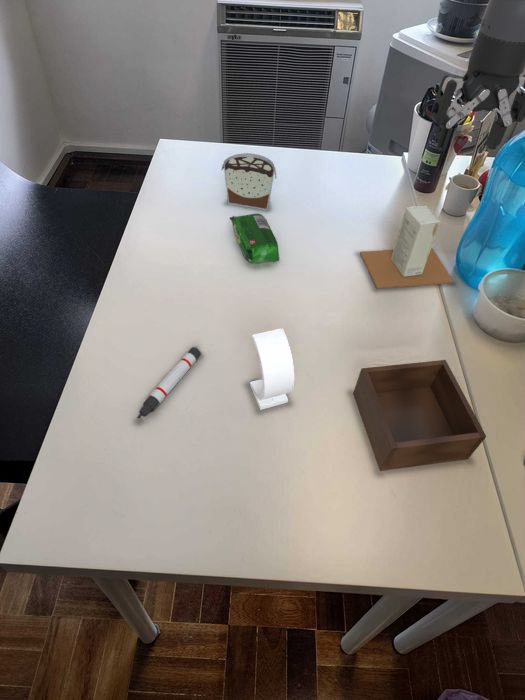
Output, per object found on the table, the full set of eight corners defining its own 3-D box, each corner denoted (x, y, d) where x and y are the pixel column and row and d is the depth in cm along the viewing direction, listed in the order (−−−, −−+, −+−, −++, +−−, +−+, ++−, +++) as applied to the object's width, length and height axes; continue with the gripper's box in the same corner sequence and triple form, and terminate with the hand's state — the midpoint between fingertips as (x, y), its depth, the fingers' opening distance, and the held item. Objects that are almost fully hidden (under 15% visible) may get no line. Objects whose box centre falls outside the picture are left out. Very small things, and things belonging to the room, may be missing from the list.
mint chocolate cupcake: (279, 197, 112) (282, 157, 104) (273, 211, 108) (276, 170, 100) (229, 188, 113) (228, 148, 106) (222, 202, 109) (221, 161, 102)
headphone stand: (276, 378, 77) (282, 327, 68) (290, 407, 73) (298, 359, 64) (249, 384, 76) (252, 334, 66) (262, 415, 72) (266, 366, 63)
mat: (430, 249, 101) (431, 247, 101) (451, 283, 94) (452, 281, 94) (359, 254, 99) (360, 251, 99) (376, 289, 92) (376, 286, 92)
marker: (191, 353, 79) (190, 345, 78) (201, 357, 79) (200, 349, 77) (133, 419, 70) (131, 412, 69) (144, 425, 70) (142, 418, 68)
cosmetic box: (422, 275, 95) (442, 223, 85) (402, 277, 94) (421, 225, 85) (408, 255, 99) (426, 203, 89) (389, 257, 98) (405, 206, 89)
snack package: (259, 223, 105) (260, 203, 101) (281, 267, 95) (283, 246, 91) (228, 228, 103) (228, 207, 99) (248, 273, 93) (248, 252, 89)
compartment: (431, 384, 77) (445, 359, 72) (468, 459, 69) (486, 436, 64) (352, 393, 75) (361, 368, 70) (379, 471, 67) (391, 448, 62)
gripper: (471, 39, 59) (432, 161, 72) (573, 38, 61) (517, 158, 73) (448, 21, 64) (414, 139, 77) (543, 21, 66) (495, 135, 78)
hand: (465, 148), depth 75 cm, fingers open, 8 cm apart
